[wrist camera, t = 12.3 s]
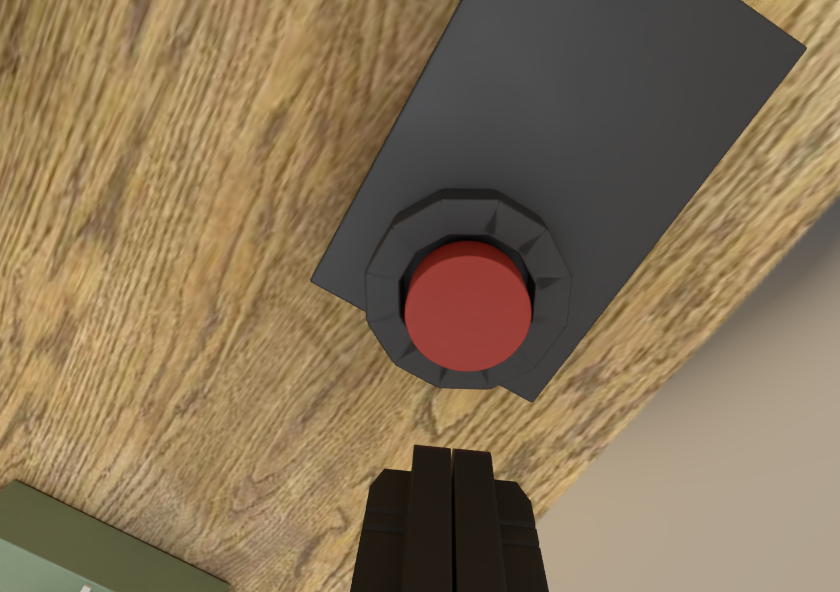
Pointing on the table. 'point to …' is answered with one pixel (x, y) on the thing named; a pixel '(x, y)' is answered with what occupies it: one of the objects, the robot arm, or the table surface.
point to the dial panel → (81, 552)
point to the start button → (467, 306)
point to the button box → (551, 159)
